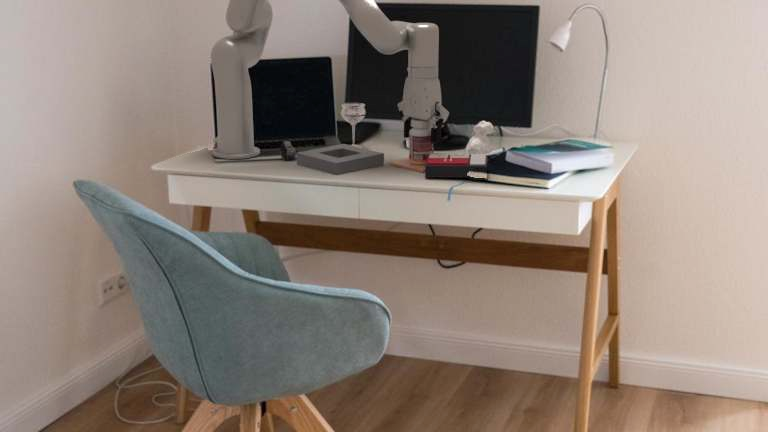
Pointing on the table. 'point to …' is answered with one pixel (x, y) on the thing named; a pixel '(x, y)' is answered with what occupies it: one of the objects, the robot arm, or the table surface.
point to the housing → (340, 159)
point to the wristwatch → (287, 151)
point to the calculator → (454, 164)
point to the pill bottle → (420, 141)
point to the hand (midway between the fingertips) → (422, 139)
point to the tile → (408, 165)
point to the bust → (480, 139)
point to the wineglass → (353, 115)
